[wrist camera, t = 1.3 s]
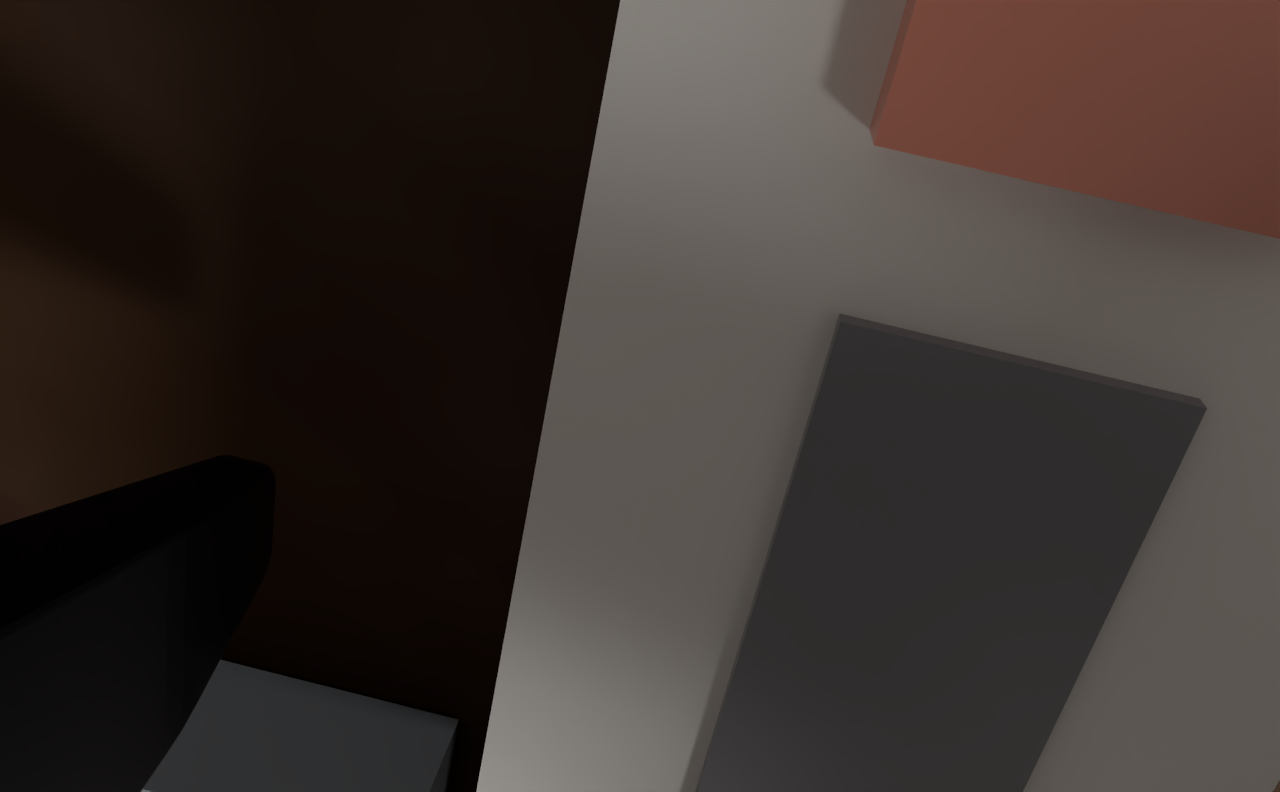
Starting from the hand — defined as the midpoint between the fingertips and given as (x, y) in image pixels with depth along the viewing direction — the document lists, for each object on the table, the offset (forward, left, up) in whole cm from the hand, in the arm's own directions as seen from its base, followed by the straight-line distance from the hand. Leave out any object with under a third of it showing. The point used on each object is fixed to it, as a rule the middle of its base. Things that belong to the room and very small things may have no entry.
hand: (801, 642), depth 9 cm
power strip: (0, 0, -2) cm, 2 cm away
